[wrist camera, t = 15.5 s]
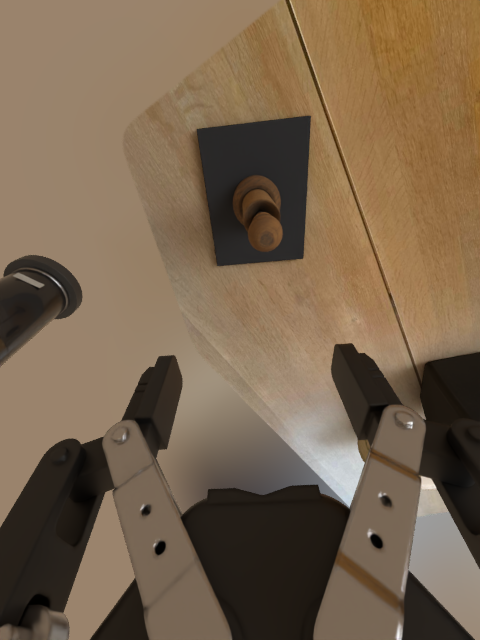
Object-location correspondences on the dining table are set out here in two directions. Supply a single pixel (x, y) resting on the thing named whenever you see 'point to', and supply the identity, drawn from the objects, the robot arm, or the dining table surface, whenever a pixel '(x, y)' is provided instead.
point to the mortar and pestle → (259, 211)
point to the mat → (265, 160)
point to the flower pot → (452, 389)
